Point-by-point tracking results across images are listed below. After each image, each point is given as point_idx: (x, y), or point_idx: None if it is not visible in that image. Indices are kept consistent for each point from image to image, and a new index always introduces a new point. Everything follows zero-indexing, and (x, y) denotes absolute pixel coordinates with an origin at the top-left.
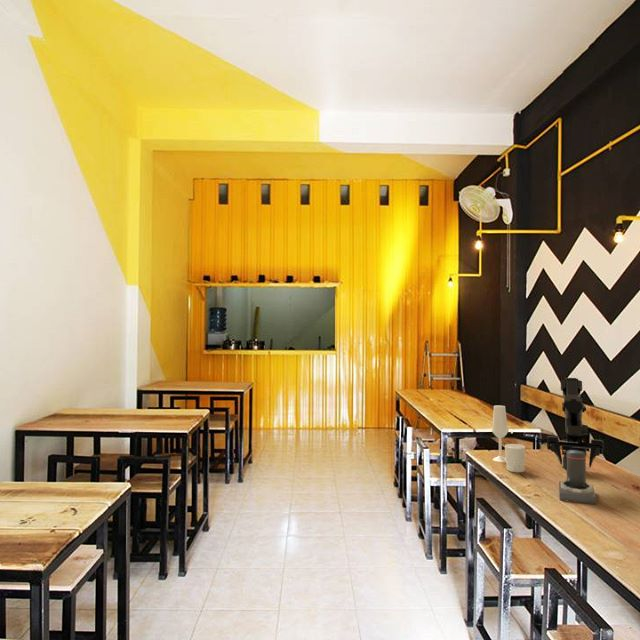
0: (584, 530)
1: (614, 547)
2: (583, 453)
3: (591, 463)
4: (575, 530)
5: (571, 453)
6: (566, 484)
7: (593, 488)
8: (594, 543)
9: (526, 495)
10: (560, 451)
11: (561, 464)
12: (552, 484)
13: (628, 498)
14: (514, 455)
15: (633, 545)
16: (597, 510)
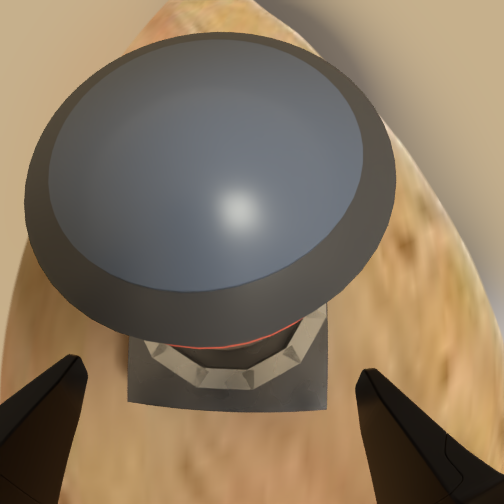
0: (237, 30)
1: (193, 4)
2: (84, 100)
3: (49, 368)
4: (258, 27)
5: (290, 49)
6: (285, 344)
7: (129, 337)
8: (226, 4)
9: (434, 227)
10: (436, 477)
11: (361, 382)
12: (345, 452)
13: (19, 338)
14: None
15: (154, 16)
16: None
